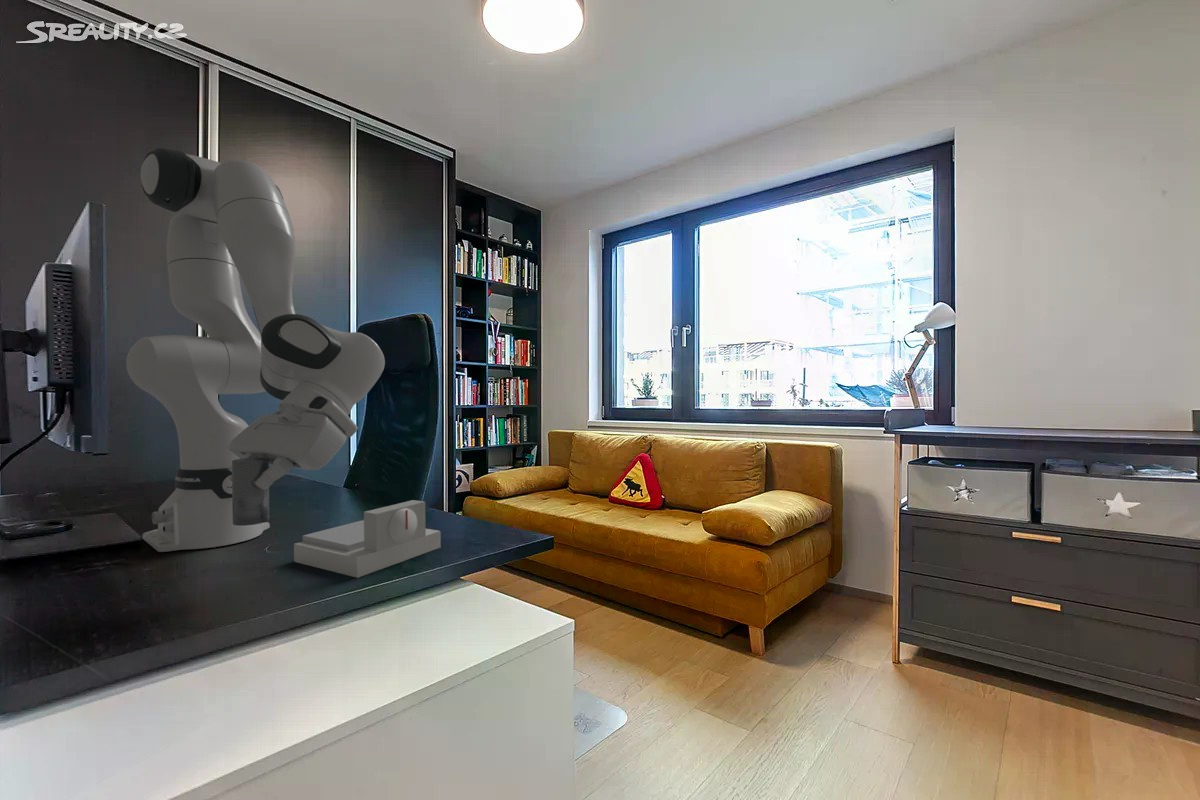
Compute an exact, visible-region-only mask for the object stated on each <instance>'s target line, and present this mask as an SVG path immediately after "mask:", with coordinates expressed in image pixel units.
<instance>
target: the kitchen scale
mask: <svg viewBox="0 0 1200 800" xmlns="http://www.w3.org/2000/svg"><path fill="white" fill-rule="evenodd" d="M441 531H442V530H438V529H433V528H432V529H431V528H426V501H423V500H415V499H412V500H407V501H404V502H399V503H396V504H391V505H388V506H382V507H378V508H375V509H371V510H366V511H363V520H359V521H358V520H357V521H354V522H351V523H346V524H344V525H343V524H342V525H338V526H334V527H330V528H327V529H322V530H319V531H314V532H312V533H308V534H304V535H302V541H300V542H296V543H293V561H294V562H295V563H298V564H302V565H306V566H310V567H313V568H318V569H322V570H325V571H330V572H333V573H337V574H341V575H345V576H348V577H353V578H360V577H363V576H366V575H369V574H371V573H375V572H378V571H380V570H383V569H386V568H388V567H392V566H394V565H396V564H399V563H402V562H405V561H407V560H410V559H413V558H416V557H418V556H421V555H423V554H424V555H425V554H427V553H430V552H432V551H436V550H438V549H441V548H442V547H441V543H442V542H441V541H442V539H441V534H442V532H441ZM294 562H293V563H294Z"/></svg>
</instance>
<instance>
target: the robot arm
mask: <svg viewBox="0 0 1200 800" xmlns="http://www.w3.org/2000/svg"><path fill="white" fill-rule="evenodd" d="M140 180H141V181H140V182H141V186H142V187H141V188H142V191H143V193H144V194H145V196H146V197H147V198H148V200H149V201H150V202H151V203H153V204H154V205H155V206H157V207H160V208H162V209H165V210H167V211H170V212H172V213H176V214H175V215H173V217H172V218H171V219H170V221H169V224H168V231H167V239H166V263H167V271H168V273H167V274H168V275H167V276H168V283H169V284H168V285H169V290H170V291H169V293H170V302H171V304H172V306H173V307H174V308H175V310H176V311H177V312H178V313H179V314H180V315H182V316H183V317H184V318H187V319H188V320H190V321H192V322H193V323H195V324H197V325H198V326H200V328H201V329H202V330H203V331H204V332H205V333H206V335H207V336H198V335H185V334H182V335H181V334H165V335H153V336H144V337H142V338H140V339H138V340H137V341H136V342H135V343H134V344H133V346H131V348H130V349H129V351H128V353H127V356H126V360H125V361H126V362H125V365H126V371H127V373H128V376H129V378H130V379H131V381H132V382H133V383H134V384H135V386H137V387H138V388H140V390H143V391H144V392H146V393H148V394H149V395H151V396H152V397H154V398H155V400H158V401H159V402H160V403H161V404H162V406H163V407H164V408H165V409H166V411H167V412H168V414H170V415H169V416H171V419H172V420H173V423H174V424H175V429H176V432H177V439H178V448H179V468H178V469H177V470H176V475H175V478H174V480H175V482H174V488H175V490H174V491H173V492H172V493H171V494H170V496H168V497H167V499H166V500H165V501H164V502H163V503H162V504H161V505H160V506H159V507H158V511H153V512H152V513H151V520H152V524H153V525H157V528H156V529H153V530H149V531H146V532H143V533H142V540H144V541H145V542H146V543H147V544H148V545H150V546H151V548H153V549H154V550H156V551H157V552H158V553H164V552H173V551H180V550H181V551H183V550H198V549H199V550H200V549H208V548H209V549H211V548H216V547H222V546H224V547H225V546H228V545H233V544H238V543H241V542H246V541H249V540H252V539H254V538H255V539H256V537H258V536H261V535H262V534H263V532H265V531H266V530H268V529H269V528H270V527H271V526H270V522H269V521H267V522H264V523H260V524H255V525H246V526H237V525H233V511H232V460H236V459H242V458H269V465H270V466H269V468H268V469H267V470H266V471H264V472H263V473H259V474H258V475H257V476H256V478H254V479H253V480H252V485H254V486H255V487H256V488H258V489H262V490H266V489H268V488H269V489H270V487H271V486H272V485H273V483H275V481H277V480H279V479H281V478H282V477H284V476H285V475H287V474H288V473H289V472H290V471H291V470H292V468H293V469H300V470H307V471H308V470H309V471H315V472H316V471H318V470H320V469H322V468H323V467H324V466H326V465H327V464H328V463H329V462H330V461H331V460H332V459H333V458H334V457H335V456H336V455H337V454H338V452H339V451H340V449H341V448H343V446H344V445H345V443H346V441H347V439H348V438H351V437H353V436H354V435H355V434H356V433H357V431H358V428H359V427H358V425H356V423H355V422H354V420H352V419H351V417H350V416H349V415H350V413H351V411H352V409H353V407H354V405H356V404H357V403H359V402H360V401H362V400H363V399H364V398H365V397H366V396H367V394H368V393H369V392H370V391H371V389H372V388H373V387H374V386H375V385H376V383H377V382H378V380H379V378H380V377H381V376H382V373H383V372H384V369H385V365H386V360H385V355H384V353H383V351H382V349H381V347H380V346H379V344H377V342H376V341H375V340H374V339H373V338H372V337H370V336H368V335H367V334H364V333H362V332H358V331H356V332H355V331H354V332H353V331H352V332H347V331H341V330H339V329H335V328H331V327H328V326H326V325H324V324H321V323H319V322H318V321H317V320H315V319H313V318H312V317H309V316H307V315H303V314H299V313H298V314H297V313H296V311H295V308H294V301H293V278H294V270H295V261H296V239H295V232H294V226H293V223H292V220H291V217H290V214H289V211H288V209H287V206H286V204H285V201H284V196H283V194H282V192H281V189H280V188H279V187H278V186H277V185H276V184H275V182H274V181H273V179H272V177H271V176H270V174H269V173H268V172H267V171H266V170H265V169H264V168H263V167H262V166H260V165H258V164H256V163H255V162H252V161H248V160H245V159H243V160H242V159H230V160H226V161H216V160H213V159H209V158H205V157H201V156H197V155H193V154H189V153H185V152H183V151H182V150H178V149H173V148H165V147H157V148H155V149H154V150H153V149H152V150H151V151H149V152H148V153H147V154H146V156H145V157H144V160H143V161H142V164H141V168H140ZM241 281H242V284H243V285H244V287H245V290H246V292H247V294H248V296H249V297H248V298H249V299H250V302H251V305H252V308H253V313H254V315H255V319H256V323H257V326H258V328H257V327H256V325H255V324H254V323H253V321H252V319H251V317H250V316H249V314H248V311H247V309H246V306H245V302H244V297H243V293H242V287H241ZM264 392H267V393H268V394H269V395H270V396H272V397H273V398H275V399H278V400H281V401H280V402H279V404H278V410H279V411H275V412H274V413H272V414H269V413H268V414H266V413H265V414H263V415H261V416H259V417H258V418H255V420H253V421H252V422H250V424H249V425H248V423H247V421H245V420H244V419H243V418H241V417H240V416H238V415H235V414H233V413H231V412H229V411H226V410H224V408H223V407H222V406H221V404H220V401H219V398H218V395H254V394H260V393H264Z"/></svg>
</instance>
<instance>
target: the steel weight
mask: <svg viewBox="0 0 1200 800" xmlns="http://www.w3.org/2000/svg"><path fill="white" fill-rule="evenodd" d="M269 467H270V464H269V458H242V459H236V460H232V511H233V525H237V526H246V525H255V524H260V523H264V522H269V521H270V487H269V488H268V489H266V490H262V489H258V488H256V487H255V486H254V485H252V480H253V479H254V478H256V476H257V475H258V474H259V473H263V472H264V471H266V470H267V469H268V468H269Z"/></svg>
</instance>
